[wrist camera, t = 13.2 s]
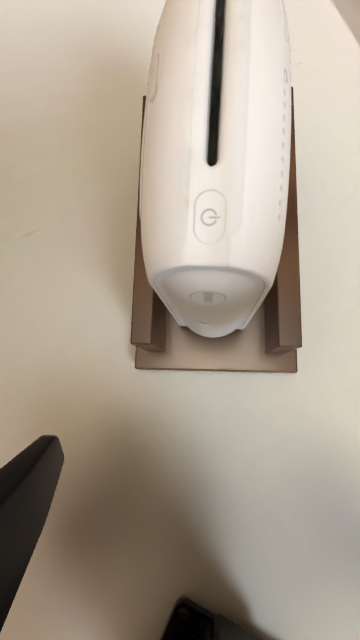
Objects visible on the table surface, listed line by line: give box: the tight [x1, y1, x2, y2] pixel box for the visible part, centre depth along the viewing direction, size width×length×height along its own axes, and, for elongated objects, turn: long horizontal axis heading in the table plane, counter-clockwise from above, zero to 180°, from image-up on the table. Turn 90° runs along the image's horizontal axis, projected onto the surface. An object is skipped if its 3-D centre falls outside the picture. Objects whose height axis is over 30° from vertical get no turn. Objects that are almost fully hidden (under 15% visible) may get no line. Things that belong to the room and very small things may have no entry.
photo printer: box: [139, 0, 291, 338], centre depth 14 cm, size 10×4×12 cm, turn 176°
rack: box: [130, 87, 302, 373], centre depth 18 cm, size 14×9×5 cm, turn 178°
